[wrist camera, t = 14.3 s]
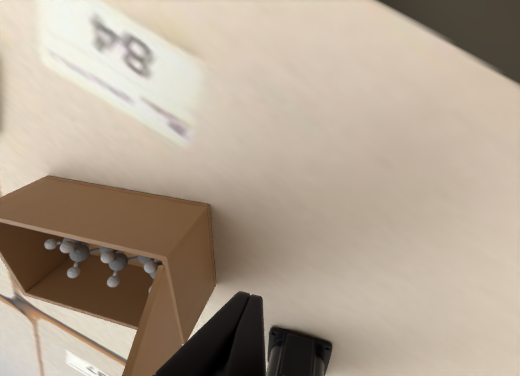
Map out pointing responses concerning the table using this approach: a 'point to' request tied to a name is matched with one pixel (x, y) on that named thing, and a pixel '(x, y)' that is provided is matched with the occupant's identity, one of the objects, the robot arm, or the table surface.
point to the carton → (111, 236)
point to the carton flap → (155, 331)
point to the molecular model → (112, 256)
